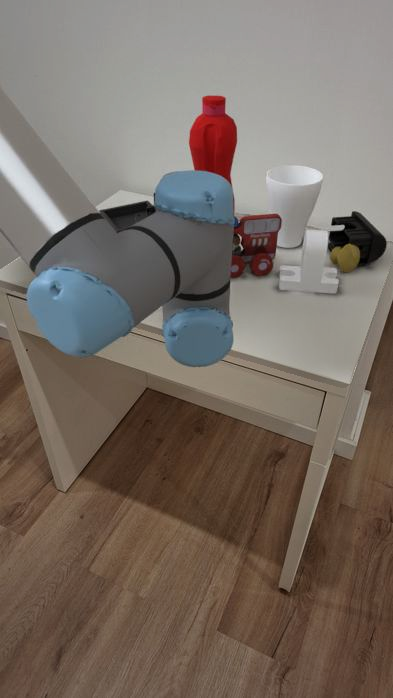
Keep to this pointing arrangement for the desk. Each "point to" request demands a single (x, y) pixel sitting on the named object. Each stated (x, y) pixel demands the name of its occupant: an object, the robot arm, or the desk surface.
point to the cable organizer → (310, 267)
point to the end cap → (358, 237)
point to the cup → (292, 200)
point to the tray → (124, 215)
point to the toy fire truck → (255, 243)
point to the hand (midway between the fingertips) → (179, 199)
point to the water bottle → (213, 139)
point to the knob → (346, 257)
